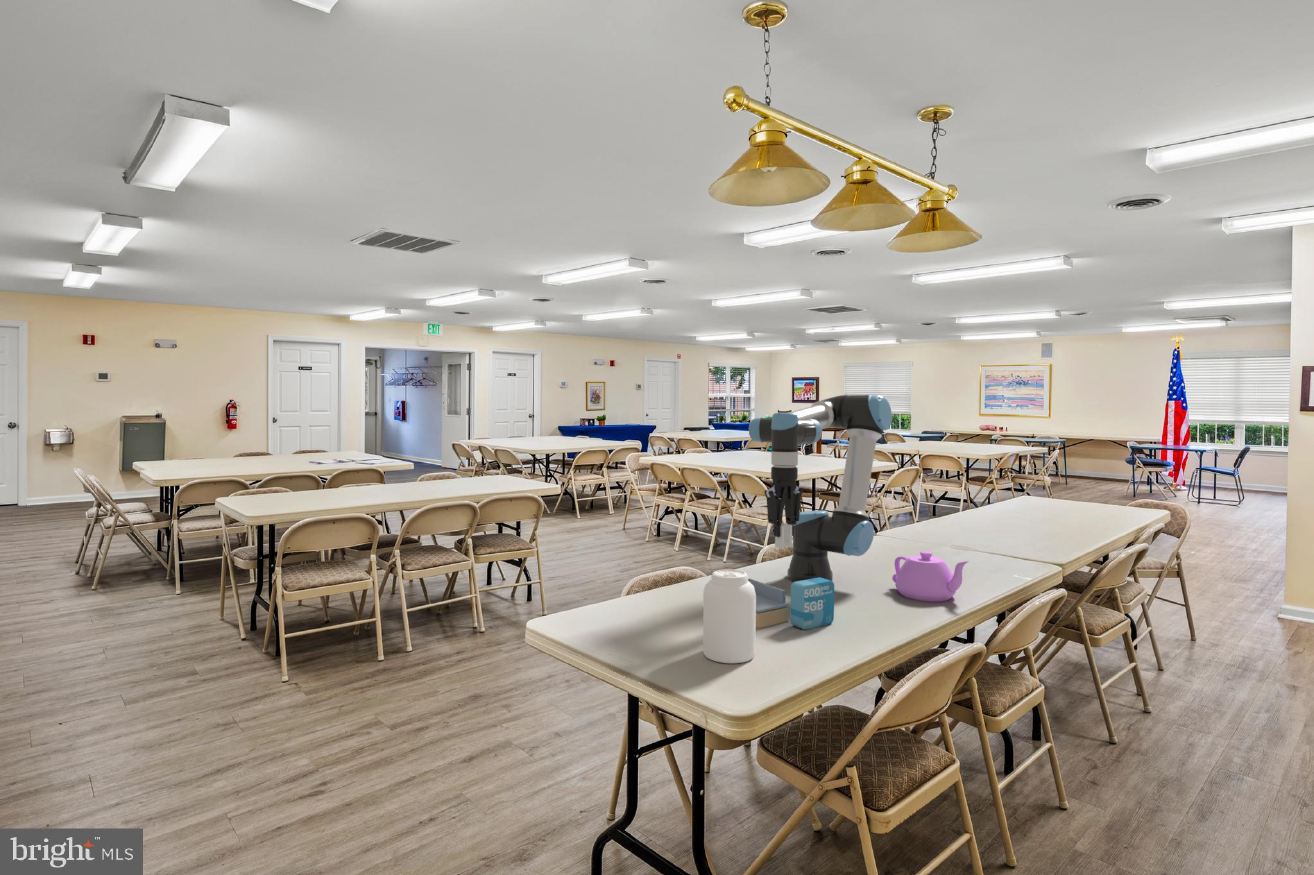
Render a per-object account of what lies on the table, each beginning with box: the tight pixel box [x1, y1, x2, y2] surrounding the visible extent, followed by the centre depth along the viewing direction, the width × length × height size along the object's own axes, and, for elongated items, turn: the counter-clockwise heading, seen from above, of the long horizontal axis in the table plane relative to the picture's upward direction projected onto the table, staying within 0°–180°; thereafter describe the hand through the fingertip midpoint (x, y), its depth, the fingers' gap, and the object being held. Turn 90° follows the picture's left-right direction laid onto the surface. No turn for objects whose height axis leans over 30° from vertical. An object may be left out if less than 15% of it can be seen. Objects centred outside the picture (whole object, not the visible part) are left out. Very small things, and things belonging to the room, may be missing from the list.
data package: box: [789, 577, 835, 631], centre depth 184 cm, size 12×4×12 cm, turn 121°
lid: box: [748, 578, 790, 613], centre depth 191 cm, size 11×17×4 cm, turn 33°
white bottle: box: [702, 568, 757, 664], centre depth 162 cm, size 12×12×20 cm
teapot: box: [892, 550, 969, 603], centre depth 212 cm, size 25×18×14 cm
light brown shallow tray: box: [756, 606, 790, 629], centre depth 192 cm, size 11×17×4 cm, turn 33°
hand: (783, 546), depth 197 cm, fingers open, 3 cm apart
